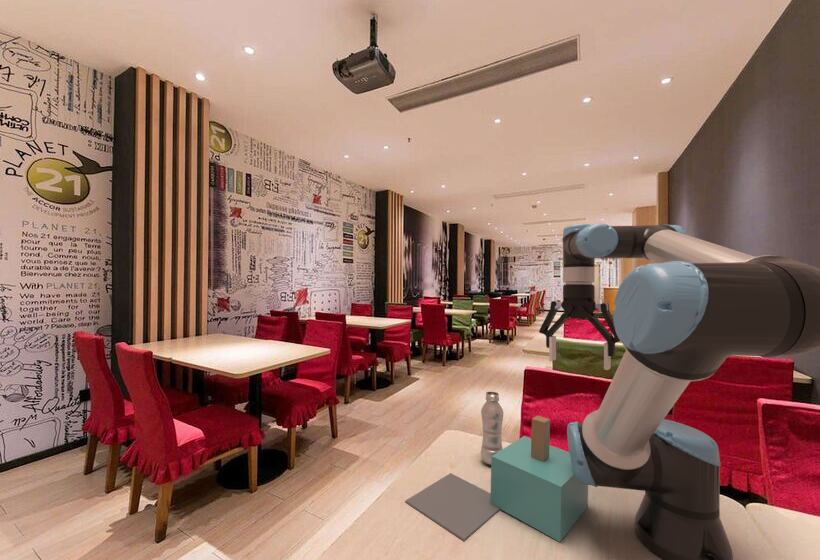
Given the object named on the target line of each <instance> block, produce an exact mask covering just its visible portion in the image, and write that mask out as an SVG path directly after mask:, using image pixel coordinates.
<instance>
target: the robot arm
mask: <svg viewBox="0 0 820 560" xmlns="http://www.w3.org/2000/svg"><path fill="white" fill-rule="evenodd" d="M562 232H563V233H562V239H561V241H562V282H563V283H564V284H563V286H562V301H558V300H553V301H551V302H550V307H549V310H548V312H547V314H546V316H545V318H544V321H543V323H542V324H541V326H540V328H539V330H538V331H539V333H540V334H542V335H544V336H545V346H546V348H547V349H549V350H548V351H549V352H548V354H549V355H548V356H549V357H548V358H549V361H550V362H553V361H556V360H557V336H556V335H555V333H556V332H557V331H558V330H559V329H560V328H561V327H562V326H563V325H564V324H565V323H566V322H567V320H569V319H571V320H575V319H579V320H587V321H588V322H590V324H592V326H593V328H595V329H596V330H597V331H598V333H599V334H600V335H601V337H603V338H604V340H606V342H604V343H603V370H605V371H609V370H610V369H611V368H612V366H611V365H612V364H611V362H612V360H611V359H612V357H615V355H616V343H621V344H622V345H623V348H624V349H625V352H624V353H623V355H622V357H621V359H620V362H619V364H618V367H617V369H616V370H615V372H614V375H613V377H612V380H611V382H610V385H609V386H608V388H607V391H606V392H605V395H604V396H603V399H602V401H601V403H600V406H599V407H598V409H596V410H594V411H592V412H590V413H589V414H587V416H585V418H584V420H583V422H579V421H574V422H573V421H572V422H569V423H568V424H567V425H566V426H567V428H566V435H567V437H566V438H567V445H568V446H567V447H568V452H569V453H570V459H571V464H572V468H573V471H574V474H575V476H576V478H577V480H578V481H579V482H581V483H582V484H586V485H588V486H591V487H592V486H593V487H594V488H598V487H603V488H604V487H606V488H613V489H623V490H624V489H625V490H632V491H633V490H634V491H643V492H644V495H643V498H642V500H641V503H640V504H639V507H638V509H637V512H636V513H635V514H636V515H635V518H634V528H635V529H634V531H635V534H636V536H637V537H638V539H639V540H640V542H641V543H642V544H643V546H645V547H646V548H647V549H648V550H649V551H651V552H652V553H653V554H654V555H656V557H657V556H658V557H659V558H661V559H662V560H734V559H733V557H734V556H733V555H734V553H733V550H732V547H731V546H732V545H731V544H730V541H729V538H728V535H727V533H726V531H725V528H724V525H723V523H722V519H721V512H720V505H721V504H720V503H721V502H720V498H721V497H720V496H721V495H720V492H721V491H720V467H721V466H722V463H721V461H720V460H721V459H720V452H719V446H718V443H717V442H716V441H715V440H714V438H712V437H711V436H709V435H708V434H706V433H705V432H703V431H701V430H699V429H697V428H694V427H691V426H690V425H686V424H683V423H681V422H678V421H677V422H676V421H674V420H670V419H665V418H666V417H667V416H668V414H669V412H671V411H670V410H672V409H673V407H674V405H675V404H676V402H677V401H678V400H679V398H680V397H681V396H682V394H683V393H684V391H685V390H686V389H687V387H688V386H689V385H690V383H691V382H699V381H703V380H705V379H709V378H710V377H712V376H714V374H716V372H717V371H718V369H720V367H721V365H723V363H724V362H725V361H726V359H727V358H730V357H731V356H741V357H742V356H743V357H744V356H745V357H769V358H770V357H772V358H782V357H793V356H794V357H795V356H799V355H806V354H807V353H811V352H814V351H816V350H818V349H820V268H818V267H816V266H814V265H810V264H808V263H805V262H801V261H797V260H794V259H790V258H787V257H783V256H781V255H780V256H779V255H774V254H772V255H771V254H766V255H764V254H763V255H758V256H754V255H751V254H748V253H744V252H742V251H739V250H735V249H732V248H729V247H726V246H723V245H719V244H717V243H713V242H711V241H707V240H704V239H700V238H697V237H694V236H691V235H688V234H687V231H685V229H684V227H682V226H681V225H678V224H677V225H676V224H666V223H662V224H661V223H660V224H650V225H608V224H606V223H600V222H599V223H595V224H594V223H593V224H591V223H590V224H589V223H576V224H575V223H574V224H571V225H567V226H565V227H564V228H563V231H562ZM595 259H645V260H648V261H650V262H652V263H647V264H641V265H639V266H638V267H635V268H634V269H632V270H631V271H630V272H628V274H627V275H626V276H625V277H624V279H623V280H622V281H621V283H620V285H619V287H618V289H617V292H616V294H615V297H614V301H613V304H614V305H615V307H614V309H613V310H612V313H613V314H612V313H611V311H610V305H609V303H608V302H602V303H596V301H595V299H596V298H595V295H596V294H595V292H596V291H595V290H596V289H595V288H596V287H595V285H594V284H593V283H595V275H596V274H595V267H596V266H595V263H596V262H595ZM560 308H562V310H563V311H564V312H563V313H562V314H561V315H560V317H559V318H557V320H556V321H555V322H554V323H553V320H554V319H555V317H556V314H557V313H558V311H559V310H560ZM596 310H598V311H599V312H600V313H601V315H602V317H603V318H604V321H605V322H606V325H607V326H608V328H609V329H607V328H606V327H605V326H604V324H603V323H602V322H601V321H600V320H599V319H598V317H597V315H596V314H595V313H594V312H595V311H596ZM552 323H553V324H552ZM551 324H552V325H551ZM550 326H551V327H550ZM609 330H610V331H609ZM610 332H611V333H610Z"/></svg>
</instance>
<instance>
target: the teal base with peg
mask: <svg viewBox="0 0 820 560" xmlns="http://www.w3.org/2000/svg"><path fill="white" fill-rule="evenodd" d="M550 430H551V419H550V418H547V417H545V416H541V415H535V416H534V417H533V418H531V435H530V436H531V437H529V436H526V435H523V436H522V437H520V438H518V439H517V440H515V441H513V442H512V443H511V444H509V445H507V446H506V447H504V448H503V449H502V450H501V451H499V452H497V453H496V454H494V455H493V456H492V457H491V465H490V493H491V497H490V504H492V505H494V506H496V507H498V508H499V509H501V510H500V511H503V512H504V513H507V514H508V515H511V516H512V517H514V518H516V519H518V520H520V521H521V522H523V523H525V524H527V525H528V526H530V527H532V528H534V529H536V530H537V531H539V532H541V533H543V534H545V535H547V536H548V537H550V538H552V539H554V540H555V541H557V542H559V543H560V542H562V541H563V539H564V538H565V537H566V535H567V534H568V533H569V531H570V530H571V529H572V528H573V526H574V525H575V524H576V522H577V521H578V520H579V518H580V517H581V516H582V514H583V513H584V512H585V510H587V508H588V503H589V485H586V484H582V483H581V482H579V481H578V480H577V478H576V476H575V474H574V471H573V468H572V464H571V459H570V453H569V451H567V450H564V449H561V448H559V447H556V446H553V445H550V443H551V442H550V441H551V439H550V437H551V436H550V434H551V431H550Z"/></svg>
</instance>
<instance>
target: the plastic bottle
mask: <svg viewBox="0 0 820 560" xmlns="http://www.w3.org/2000/svg"><path fill="white" fill-rule="evenodd" d="M499 395H500V394H499V393H498V392H495V391H486V393H485V403H484V404H483V405H482V407H481V411H480V413H481V415H480V416H481V422H482V443H481V449H480V456H481V460H482V461H483V462H484V464H486V465H488V466H491V457H492V456H493V455H494V454H496V453H497V452H499V451H501V450H502V449H504V448H503V441H502V440H503V439H502V433H503V432H502V430H503V421H504V410H503V408H502V406H501V405H500V403H499V401H500V397H499Z"/></svg>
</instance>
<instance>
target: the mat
mask: <svg viewBox="0 0 820 560" xmlns="http://www.w3.org/2000/svg"><path fill="white" fill-rule="evenodd" d="M490 497H491V492H490V491H489V492H488V491H486V490H485V489H484V488H480V487H479V486H477V485H475V484H473V483H471V482H469V481H467V480H466V479H463V478H461V477H460V476H457V475H455V474H453V473H451V472H450V473H448V474H447V475H445V476H443V477H442V478H439V480H437V481H435V482H433V483H432V484H430V485H428V486H427V487H425V488H424V489H422V490H420V491H419V492H417V493H415V494H414V495H412V496H410V497H409V498H407V499H405V502H404V503H406V504H407V505H409V506H410V507H412V508H413V509H415V510H416V511H418V513H420V514H422V515H423V516H425V517H426V518H428V519H430V520H431V521H433V522H434V523H436V524H437V526H440V527H442V528H443V529H444V530H446V531H447V532H449V533H450V534H453V535H454V536H455V537H457V538H458V539H459V540H461V541H463V542H465V541H466V540H467V539H469V538H470V537H471V536H472V535H473V534H474V533H476V531H478V530H480V528H481V527H482V526H484V525H485V524H486V523H487V522H488V521H490V520H491V518H493V516H495V515H496V514H497V513H498V512H499V511H502V510H501V509H499V508H498V507H496V506H494V505H492V504H490Z"/></svg>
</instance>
